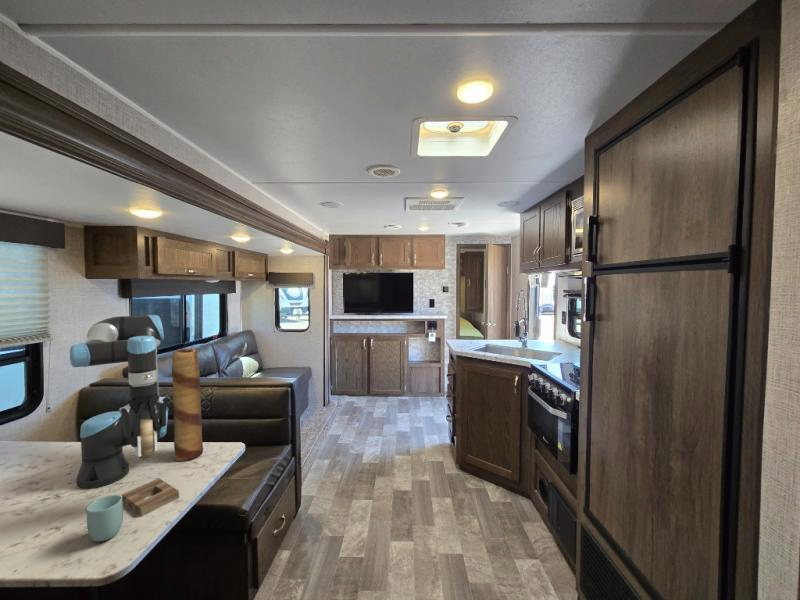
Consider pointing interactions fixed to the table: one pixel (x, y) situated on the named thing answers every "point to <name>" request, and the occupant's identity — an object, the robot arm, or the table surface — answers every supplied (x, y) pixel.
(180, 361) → the wafer roll
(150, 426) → the peg
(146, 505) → the box with square hole
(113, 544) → the table surface
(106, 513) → the cup
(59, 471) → the table surface
